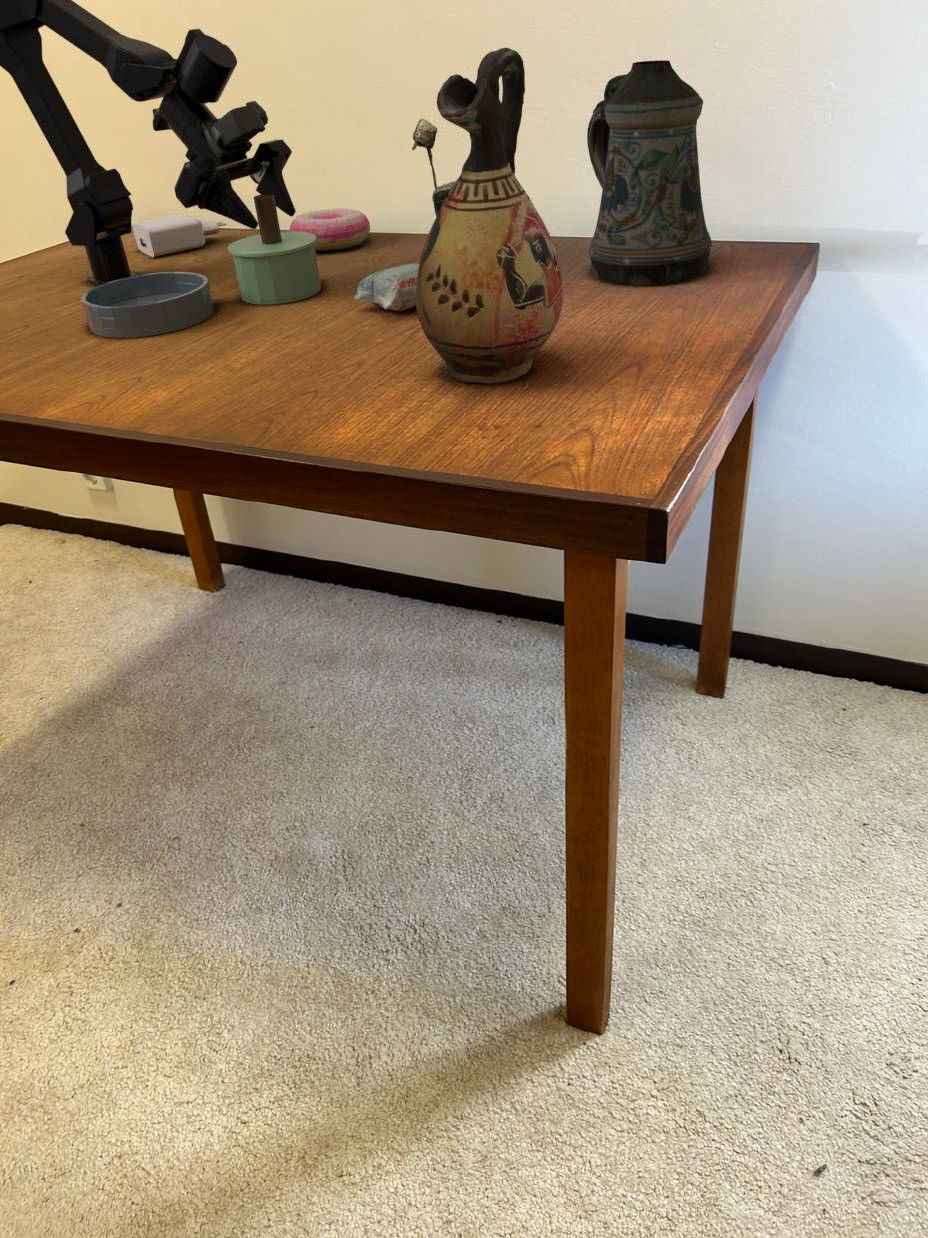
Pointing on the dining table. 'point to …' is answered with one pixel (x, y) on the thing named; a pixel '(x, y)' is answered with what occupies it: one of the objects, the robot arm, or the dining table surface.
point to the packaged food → (390, 288)
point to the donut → (333, 227)
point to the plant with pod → (426, 139)
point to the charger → (173, 234)
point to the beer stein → (648, 179)
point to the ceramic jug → (488, 240)
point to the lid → (270, 234)
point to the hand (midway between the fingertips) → (275, 220)
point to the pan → (148, 304)
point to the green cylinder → (278, 277)
